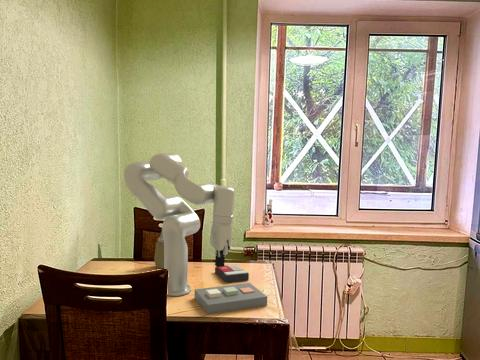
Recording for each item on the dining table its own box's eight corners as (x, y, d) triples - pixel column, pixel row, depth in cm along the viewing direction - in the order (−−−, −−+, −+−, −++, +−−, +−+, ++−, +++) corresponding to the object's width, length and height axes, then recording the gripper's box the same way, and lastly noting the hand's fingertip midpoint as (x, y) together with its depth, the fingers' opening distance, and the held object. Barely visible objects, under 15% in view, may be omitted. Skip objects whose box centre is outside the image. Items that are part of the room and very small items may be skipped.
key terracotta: (243, 298, 160) (244, 292, 160) (239, 294, 164) (239, 288, 164) (253, 297, 162) (254, 291, 161) (249, 293, 166) (249, 287, 165)
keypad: (207, 314, 148) (208, 304, 148) (194, 298, 162) (194, 289, 162) (266, 305, 158) (267, 296, 157) (249, 290, 172) (249, 282, 172)
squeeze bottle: (156, 264, 204) (156, 228, 202) (172, 264, 203) (172, 229, 202) (152, 269, 196) (152, 232, 194) (169, 270, 195) (169, 233, 194)
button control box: (236, 263, 198) (249, 271, 185) (236, 272, 199) (248, 281, 185) (214, 265, 194) (226, 273, 180) (214, 274, 194) (226, 283, 181)
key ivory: (209, 300, 154) (210, 294, 154) (206, 296, 158) (206, 290, 158) (220, 299, 156) (221, 292, 156) (216, 294, 160) (216, 288, 160)
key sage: (227, 298, 157) (227, 291, 157) (223, 294, 161) (223, 287, 161) (237, 296, 159) (237, 290, 158) (233, 292, 163) (233, 286, 162)
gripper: (206, 215, 160) (203, 260, 162) (221, 224, 147) (218, 273, 149) (223, 214, 164) (220, 259, 166) (240, 223, 150) (236, 271, 153)
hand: (219, 265), depth 157 cm, fingers closed
